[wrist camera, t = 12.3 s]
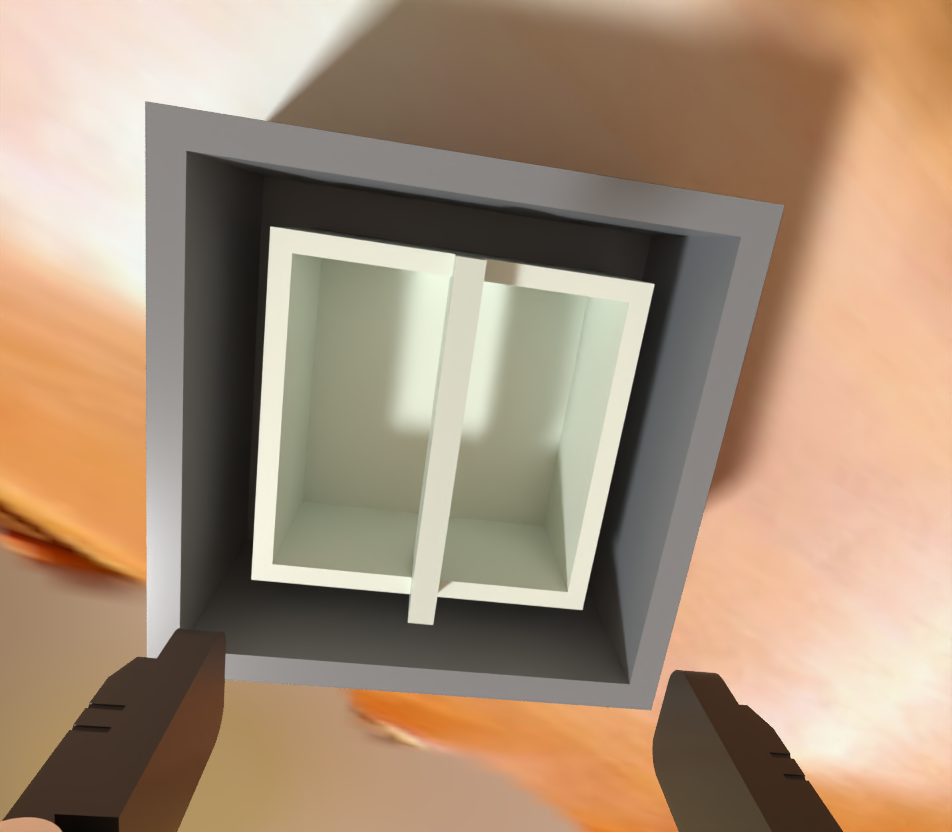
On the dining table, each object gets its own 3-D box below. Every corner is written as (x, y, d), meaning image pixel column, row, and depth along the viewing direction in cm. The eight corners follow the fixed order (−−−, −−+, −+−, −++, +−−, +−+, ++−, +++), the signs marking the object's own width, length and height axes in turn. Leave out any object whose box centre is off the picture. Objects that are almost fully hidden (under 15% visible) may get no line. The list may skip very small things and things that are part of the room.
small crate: (604, 272, 30) (674, 288, 21) (552, 534, 34) (593, 639, 25) (308, 227, 28) (254, 225, 20) (289, 507, 32) (236, 607, 24)
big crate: (673, 213, 30) (784, 205, 21) (592, 582, 36) (651, 710, 26) (243, 145, 28) (145, 101, 19) (228, 548, 34) (146, 673, 24)
